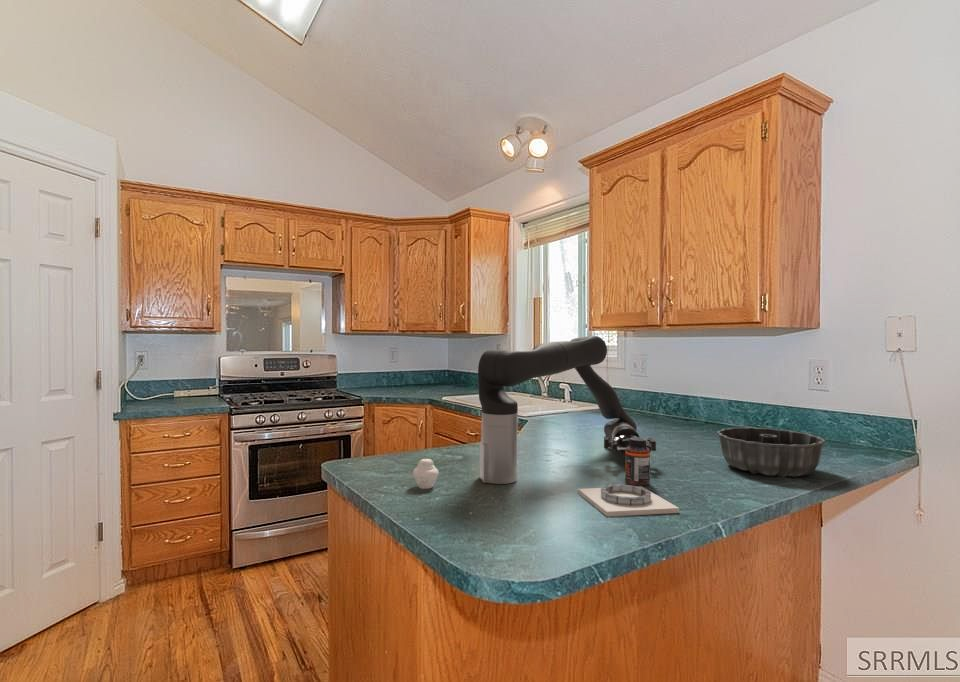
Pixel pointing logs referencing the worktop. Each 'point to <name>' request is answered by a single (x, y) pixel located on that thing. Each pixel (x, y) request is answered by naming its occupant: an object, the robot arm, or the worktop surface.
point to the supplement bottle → (637, 462)
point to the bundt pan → (771, 451)
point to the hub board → (612, 509)
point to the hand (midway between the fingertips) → (632, 448)
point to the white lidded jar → (425, 474)
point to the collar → (628, 501)
